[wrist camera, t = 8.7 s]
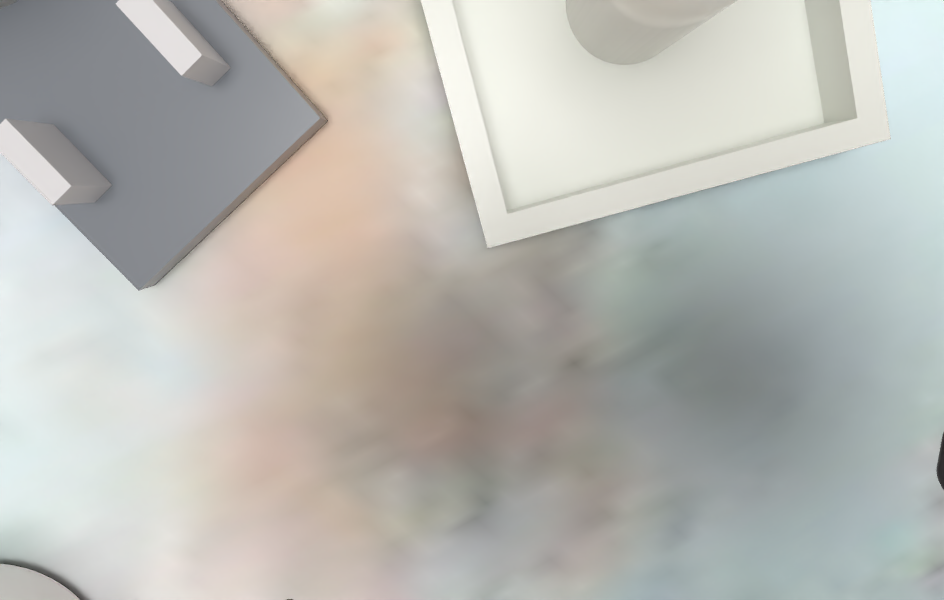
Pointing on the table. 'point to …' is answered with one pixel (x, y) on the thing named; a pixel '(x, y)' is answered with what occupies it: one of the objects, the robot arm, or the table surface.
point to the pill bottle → (30, 585)
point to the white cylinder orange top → (636, 25)
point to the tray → (647, 105)
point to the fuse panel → (143, 119)
